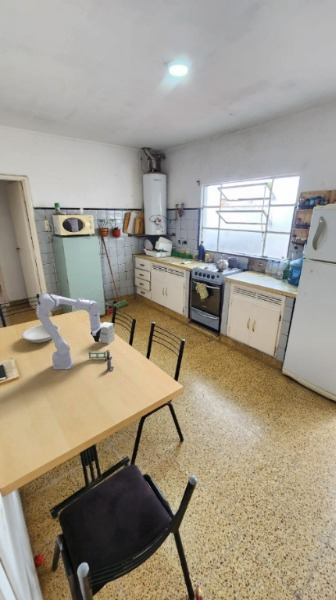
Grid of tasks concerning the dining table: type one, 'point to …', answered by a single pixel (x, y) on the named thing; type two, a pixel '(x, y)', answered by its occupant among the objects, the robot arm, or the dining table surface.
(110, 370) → the post
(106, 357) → the hinge post
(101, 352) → the gate
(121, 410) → the dining table surface
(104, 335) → the supplement box
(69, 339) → the dining table surface
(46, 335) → the soup bowl
